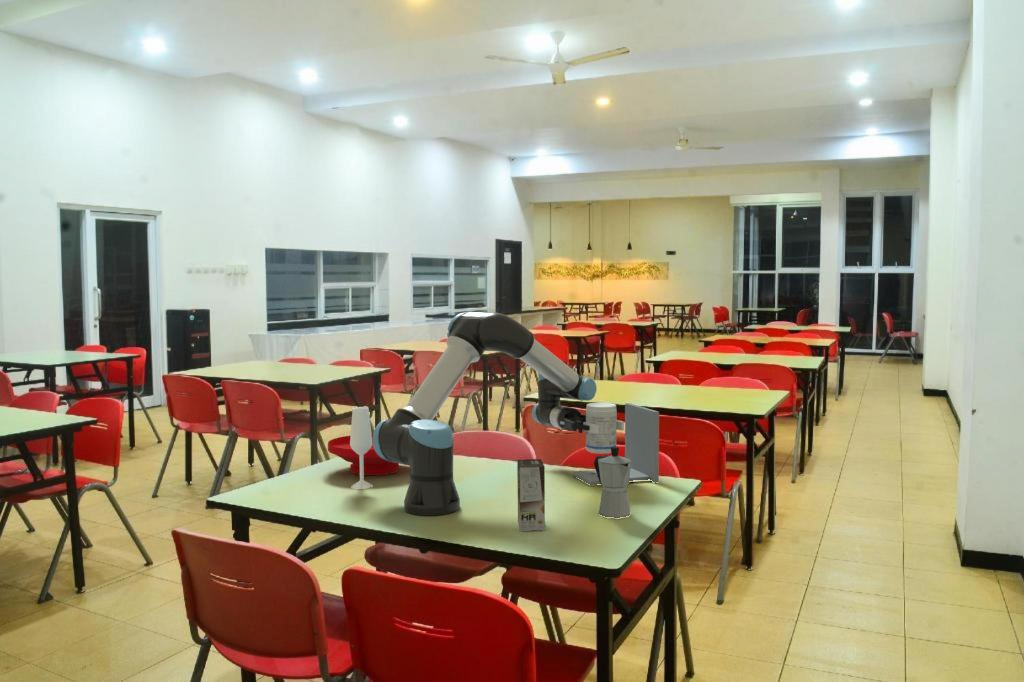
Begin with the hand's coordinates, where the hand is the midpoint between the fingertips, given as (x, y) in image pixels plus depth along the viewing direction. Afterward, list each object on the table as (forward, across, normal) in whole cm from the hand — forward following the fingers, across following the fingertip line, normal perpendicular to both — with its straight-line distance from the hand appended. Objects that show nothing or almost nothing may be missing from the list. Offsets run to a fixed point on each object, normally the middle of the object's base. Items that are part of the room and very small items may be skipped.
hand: (610, 427), depth 238 cm
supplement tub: (-4, 0, -8) cm, 9 cm away
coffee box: (+24, +46, -17) cm, 54 cm away
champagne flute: (-39, +66, -17) cm, 78 cm away
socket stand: (-3, -4, -17) cm, 18 cm away
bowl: (-57, +53, -17) cm, 80 cm away
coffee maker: (+27, +22, -17) cm, 39 cm away
